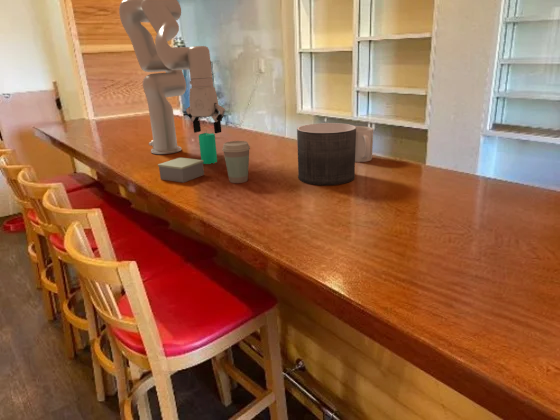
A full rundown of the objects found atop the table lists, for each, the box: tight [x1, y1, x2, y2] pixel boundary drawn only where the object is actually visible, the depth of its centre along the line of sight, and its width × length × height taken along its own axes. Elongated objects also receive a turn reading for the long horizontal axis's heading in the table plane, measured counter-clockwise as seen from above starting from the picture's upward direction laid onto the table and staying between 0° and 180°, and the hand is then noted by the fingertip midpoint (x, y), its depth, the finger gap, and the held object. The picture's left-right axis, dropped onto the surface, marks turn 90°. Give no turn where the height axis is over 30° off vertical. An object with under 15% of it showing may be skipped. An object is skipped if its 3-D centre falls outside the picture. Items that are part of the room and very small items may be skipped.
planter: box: [296, 122, 357, 186], centre depth 130 cm, size 18×18×16 cm
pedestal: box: [157, 157, 205, 184], centre depth 139 cm, size 10×10×5 cm
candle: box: [198, 130, 218, 165], centre depth 156 cm, size 6×6×12 cm
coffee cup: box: [222, 140, 251, 184], centre depth 131 cm, size 8×9×12 cm
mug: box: [355, 126, 374, 163], centre depth 152 cm, size 10×12×11 cm
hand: (207, 132), depth 154 cm, fingers open, 9 cm apart
